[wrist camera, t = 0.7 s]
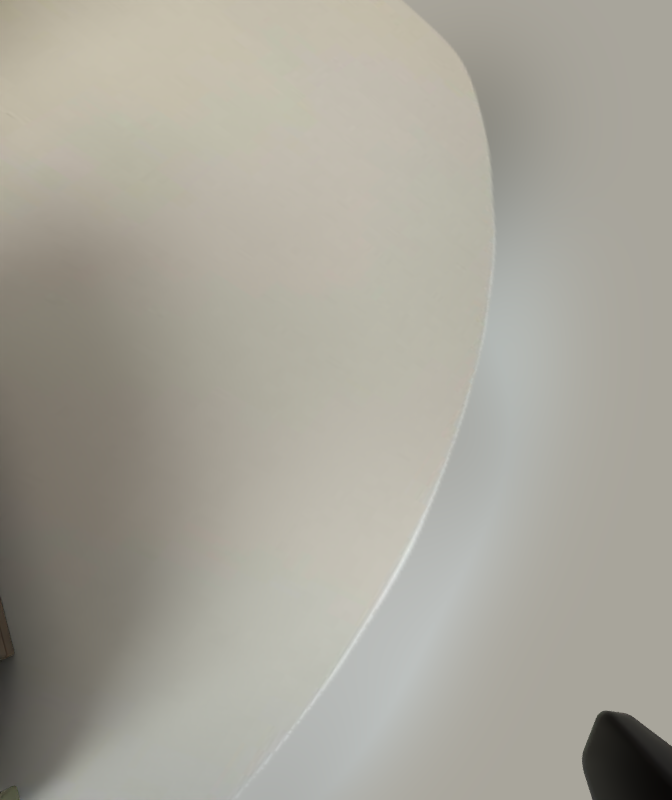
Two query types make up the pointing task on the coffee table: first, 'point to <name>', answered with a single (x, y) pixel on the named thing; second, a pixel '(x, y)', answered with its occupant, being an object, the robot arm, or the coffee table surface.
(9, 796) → the drawer
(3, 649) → the cabinet
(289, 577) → the coffee table surface
